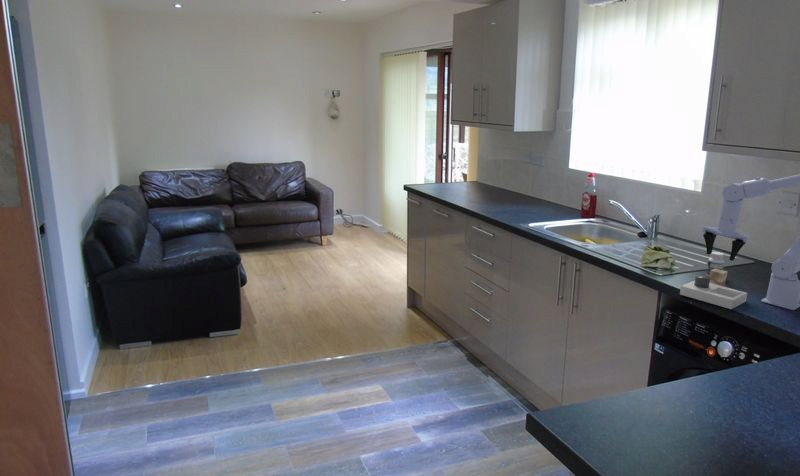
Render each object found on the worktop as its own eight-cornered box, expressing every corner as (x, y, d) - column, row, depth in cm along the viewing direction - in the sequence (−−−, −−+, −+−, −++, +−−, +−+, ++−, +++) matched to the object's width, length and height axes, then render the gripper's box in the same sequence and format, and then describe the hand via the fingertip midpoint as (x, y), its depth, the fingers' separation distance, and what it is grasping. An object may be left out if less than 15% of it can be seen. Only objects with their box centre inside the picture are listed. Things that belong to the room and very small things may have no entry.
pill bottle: (707, 273, 215) (711, 250, 212) (722, 276, 211) (727, 253, 209) (704, 276, 211) (708, 253, 208) (719, 279, 207) (724, 256, 205)
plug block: (724, 287, 198) (727, 271, 197) (719, 290, 196) (722, 273, 194) (712, 284, 201) (715, 268, 200) (707, 286, 199) (710, 270, 197)
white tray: (745, 301, 185) (749, 284, 184) (731, 309, 178) (734, 291, 176) (695, 287, 197) (698, 271, 195) (679, 294, 189) (682, 277, 188)
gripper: (701, 215, 195) (693, 252, 199) (746, 224, 184) (737, 264, 188) (711, 213, 200) (703, 250, 203) (755, 222, 189) (746, 261, 192)
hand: (720, 256), depth 196 cm, fingers open, 7 cm apart
